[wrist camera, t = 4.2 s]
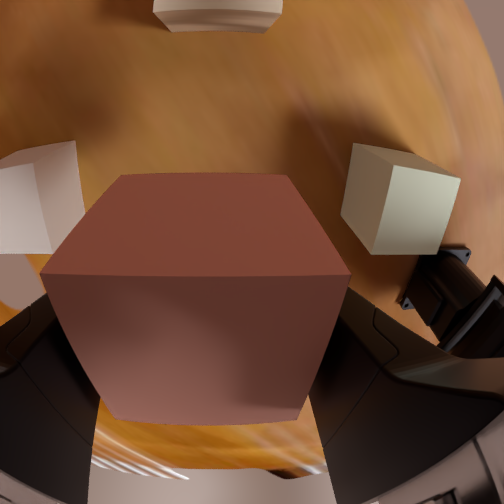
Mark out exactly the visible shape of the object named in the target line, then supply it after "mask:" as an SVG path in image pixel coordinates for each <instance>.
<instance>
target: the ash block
mask: <svg viewBox="0 0 504 504" xmlns="http://www.w3.org/2000/svg"><path fill="white" fill-rule="evenodd" d="M282 4H283V0H154V5H153V13H154V14H155V15H156V16H157V17H158V18H159V19H160V20H161V21H162V22H163V23H164V24H165V25H166V27H167V28H168V29H169V30H170V31H171V32H186V31H235V32H252V33H265V32H266V31H267V30H268V28H269V27H270V26H271V25H272V24H273V23H274V22H275V21H276V19H277V18H278V17H279V16H280V15H281V14H282Z"/></svg>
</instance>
